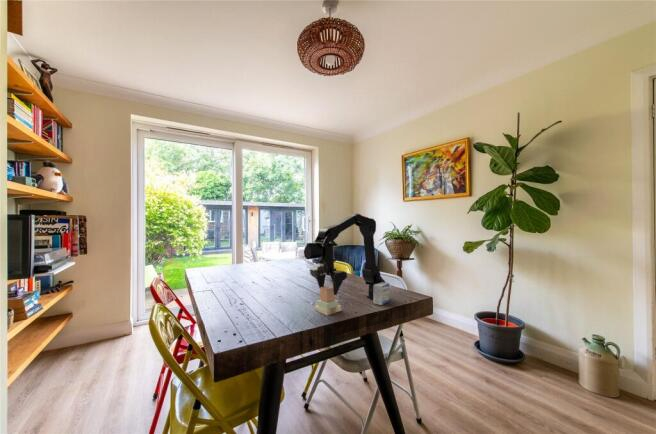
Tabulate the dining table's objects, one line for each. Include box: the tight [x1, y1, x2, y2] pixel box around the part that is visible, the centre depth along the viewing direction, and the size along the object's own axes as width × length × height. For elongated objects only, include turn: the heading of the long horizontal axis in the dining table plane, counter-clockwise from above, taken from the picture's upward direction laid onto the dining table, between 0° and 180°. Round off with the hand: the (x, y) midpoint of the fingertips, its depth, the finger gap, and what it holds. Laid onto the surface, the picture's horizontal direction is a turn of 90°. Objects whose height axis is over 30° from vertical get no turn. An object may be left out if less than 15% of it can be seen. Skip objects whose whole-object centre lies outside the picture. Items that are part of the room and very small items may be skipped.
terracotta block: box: [319, 285, 336, 302], centre depth 112 cm, size 4×4×6 cm
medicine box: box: [372, 281, 390, 306], centre depth 121 cm, size 8×4×9 cm, turn 141°
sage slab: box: [316, 298, 340, 310], centre depth 112 cm, size 6×6×2 cm
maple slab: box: [315, 304, 343, 316], centre depth 112 cm, size 8×8×2 cm
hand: (328, 292), depth 112 cm, fingers open, 9 cm apart
